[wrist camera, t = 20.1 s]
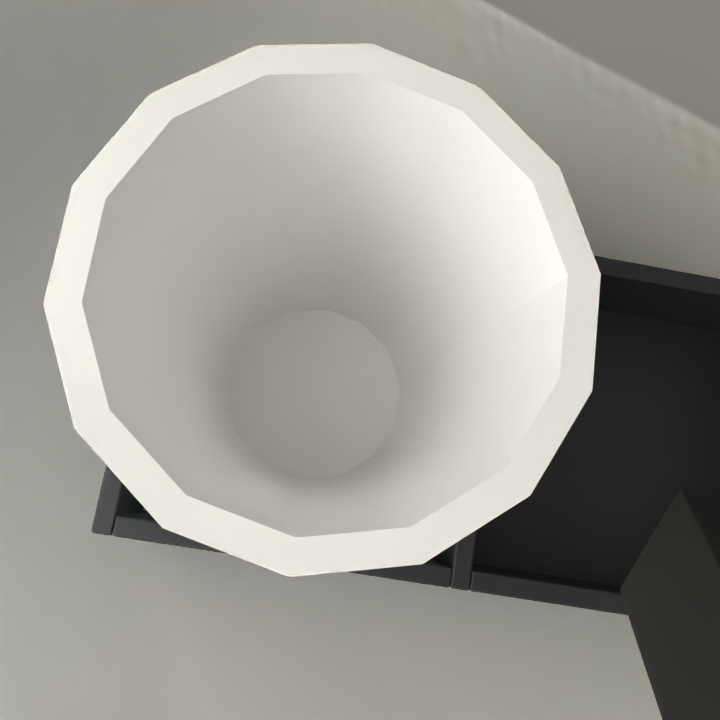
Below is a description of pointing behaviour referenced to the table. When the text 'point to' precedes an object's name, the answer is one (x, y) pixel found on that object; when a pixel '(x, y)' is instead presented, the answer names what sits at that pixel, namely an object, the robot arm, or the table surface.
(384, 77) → the foam cup
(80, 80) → the table surface
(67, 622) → the table surface
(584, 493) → the organizer
